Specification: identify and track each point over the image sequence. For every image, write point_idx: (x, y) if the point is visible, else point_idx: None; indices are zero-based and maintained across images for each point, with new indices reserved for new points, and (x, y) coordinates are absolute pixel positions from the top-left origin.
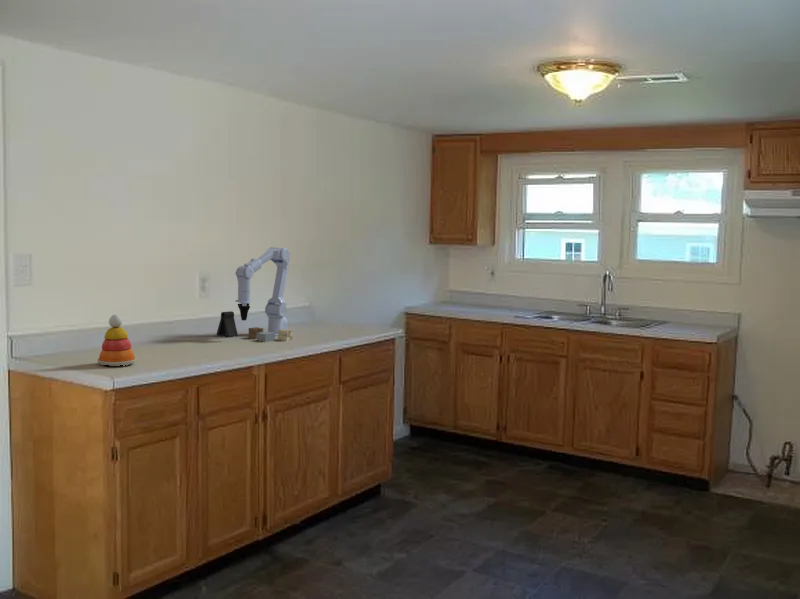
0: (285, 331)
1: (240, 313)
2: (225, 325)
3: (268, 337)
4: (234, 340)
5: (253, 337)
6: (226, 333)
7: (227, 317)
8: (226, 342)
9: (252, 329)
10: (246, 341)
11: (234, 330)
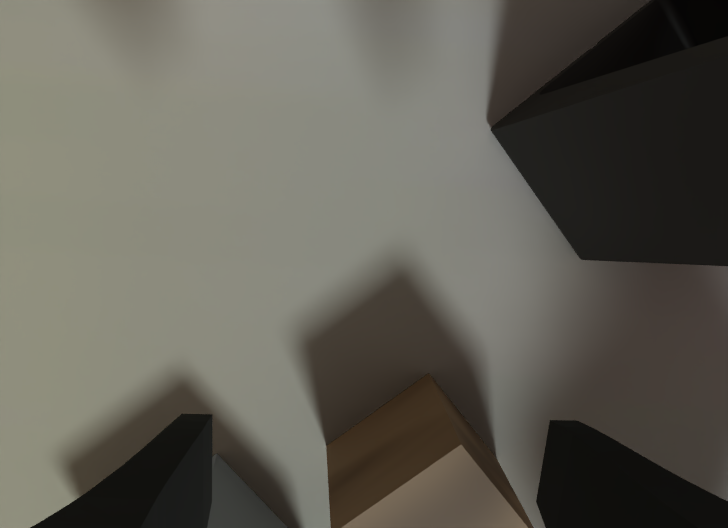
0: None
1: (616, 467)
2: (636, 73)
3: None
4: (216, 185)
5: (357, 435)
6: (548, 96)
7: None
8: (10, 53)
9: (388, 486)
10: (136, 333)
11: (617, 227)
